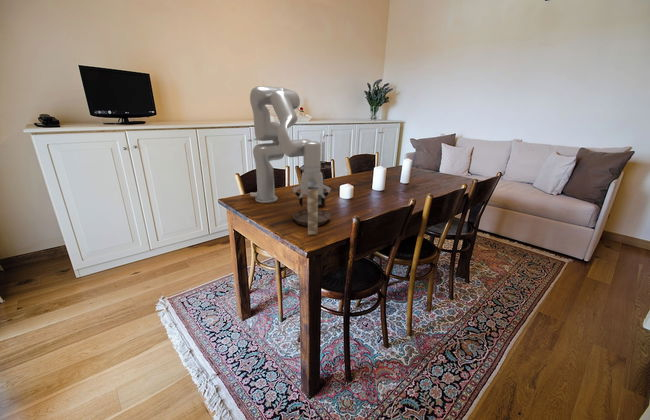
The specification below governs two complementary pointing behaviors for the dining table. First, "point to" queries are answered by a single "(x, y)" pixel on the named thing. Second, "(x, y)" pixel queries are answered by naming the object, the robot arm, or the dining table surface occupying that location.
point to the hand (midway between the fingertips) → (311, 205)
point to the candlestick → (323, 166)
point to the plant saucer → (303, 217)
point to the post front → (312, 208)
